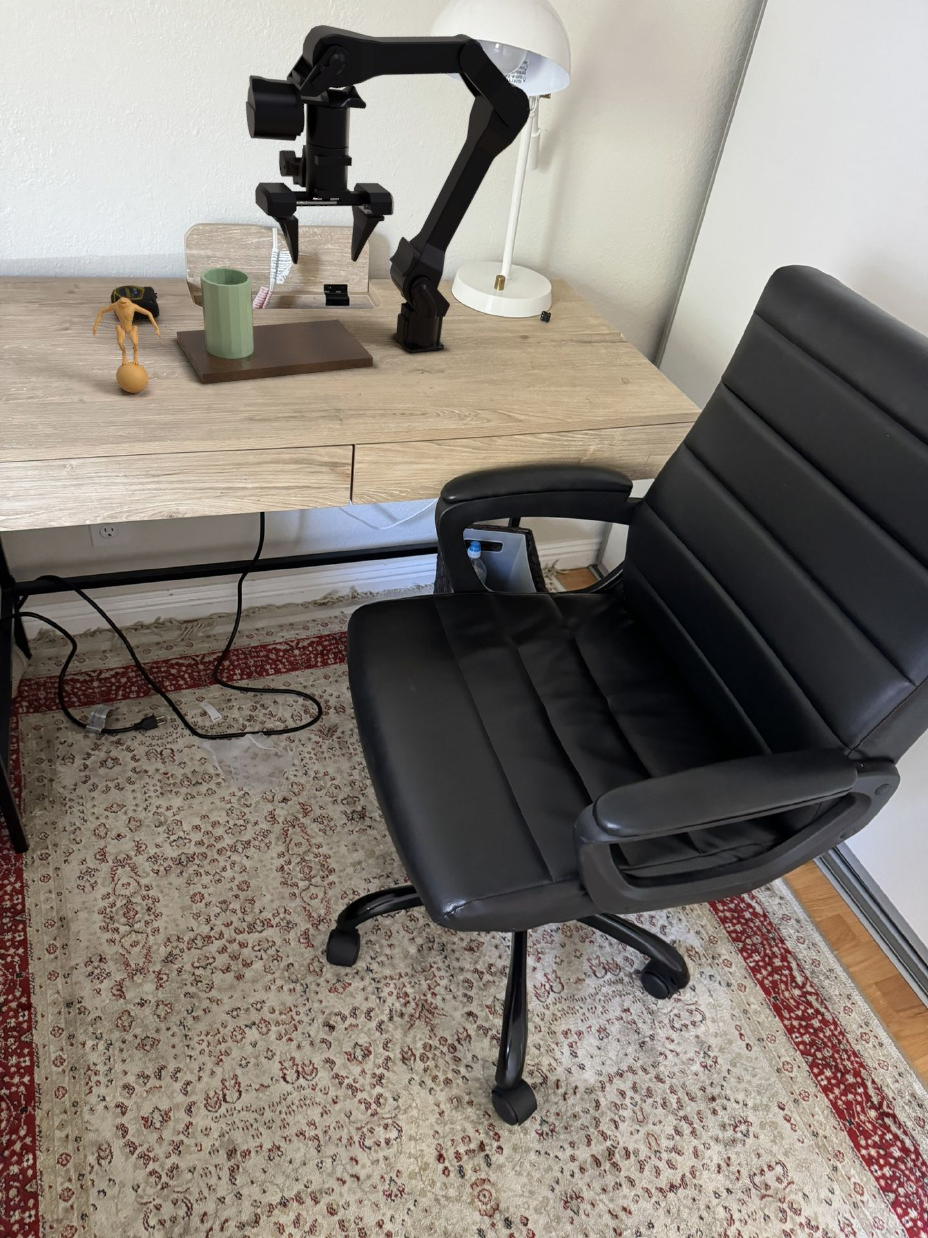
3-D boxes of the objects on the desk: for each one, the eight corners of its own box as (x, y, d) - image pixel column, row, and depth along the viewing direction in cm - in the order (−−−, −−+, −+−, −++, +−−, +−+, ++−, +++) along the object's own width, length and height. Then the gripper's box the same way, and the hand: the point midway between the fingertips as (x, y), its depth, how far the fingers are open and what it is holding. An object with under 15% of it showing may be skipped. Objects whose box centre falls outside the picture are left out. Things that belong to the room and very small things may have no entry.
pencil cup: (256, 340, 122) (253, 270, 115) (251, 360, 117) (248, 288, 110) (209, 336, 121) (204, 264, 114) (203, 356, 116) (197, 282, 109)
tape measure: (161, 325, 125) (158, 301, 122) (113, 325, 122) (109, 300, 120) (158, 307, 129) (156, 283, 127) (112, 306, 127) (109, 282, 125)
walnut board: (338, 327, 133) (338, 319, 132) (372, 366, 124) (373, 356, 123) (177, 340, 122) (176, 331, 121) (203, 383, 113) (202, 373, 112)
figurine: (99, 397, 107) (83, 307, 99) (103, 376, 111) (88, 288, 103) (166, 398, 109) (155, 310, 101) (167, 377, 113) (157, 292, 105)
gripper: (367, 128, 117) (361, 240, 127) (240, 124, 109) (245, 244, 119) (399, 150, 110) (390, 267, 121) (267, 147, 102) (270, 272, 112)
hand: (324, 261), depth 118 cm, fingers open, 9 cm apart
